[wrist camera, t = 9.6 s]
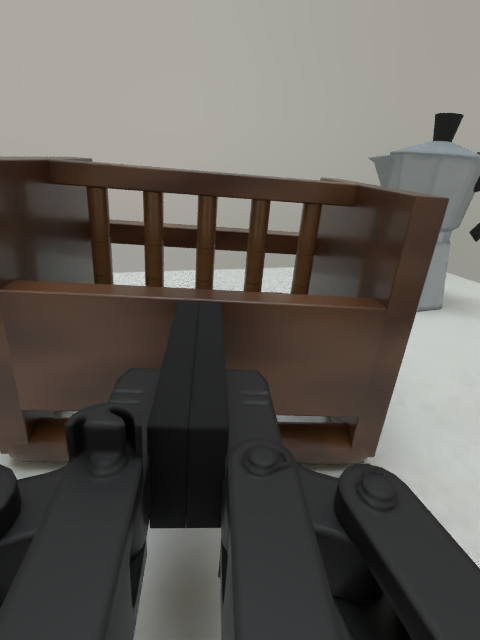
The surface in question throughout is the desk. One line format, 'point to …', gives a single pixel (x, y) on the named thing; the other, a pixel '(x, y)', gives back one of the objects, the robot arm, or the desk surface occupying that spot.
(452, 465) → the desk surface
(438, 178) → the coffee maker
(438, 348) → the desk surface
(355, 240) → the rack
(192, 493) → the robot arm
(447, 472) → the desk surface
